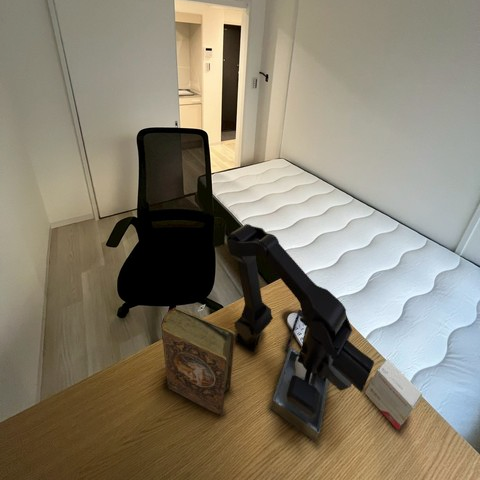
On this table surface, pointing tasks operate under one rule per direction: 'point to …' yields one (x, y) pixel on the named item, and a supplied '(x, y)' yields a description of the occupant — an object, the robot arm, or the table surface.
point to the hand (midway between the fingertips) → (304, 379)
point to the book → (197, 358)
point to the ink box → (393, 393)
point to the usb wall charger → (300, 370)
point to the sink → (290, 411)
